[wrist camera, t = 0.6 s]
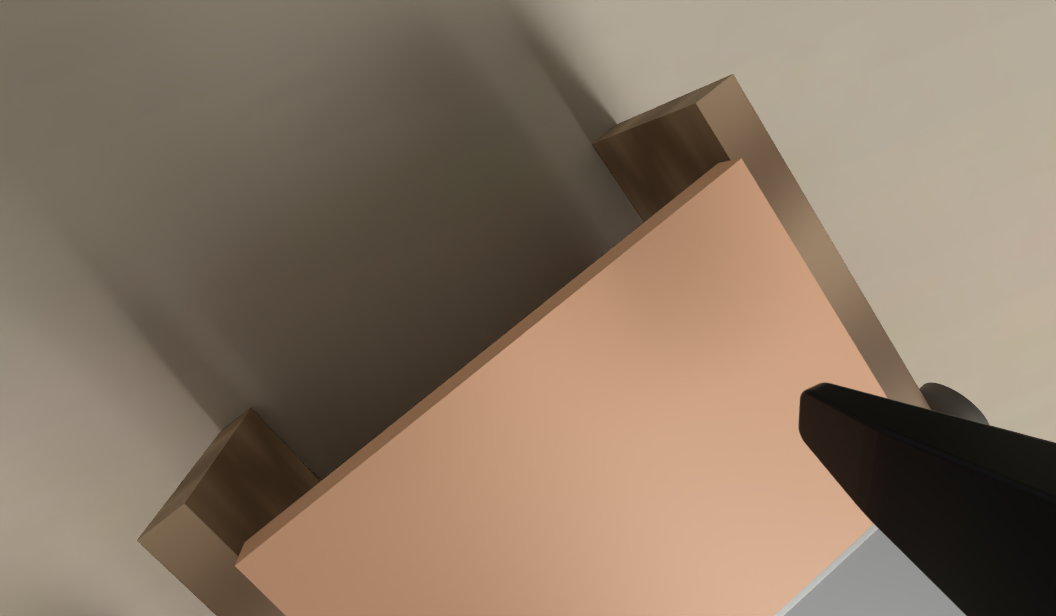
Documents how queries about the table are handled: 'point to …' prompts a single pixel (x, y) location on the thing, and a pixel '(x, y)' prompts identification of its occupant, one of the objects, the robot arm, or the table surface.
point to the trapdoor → (615, 453)
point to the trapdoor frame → (650, 183)
